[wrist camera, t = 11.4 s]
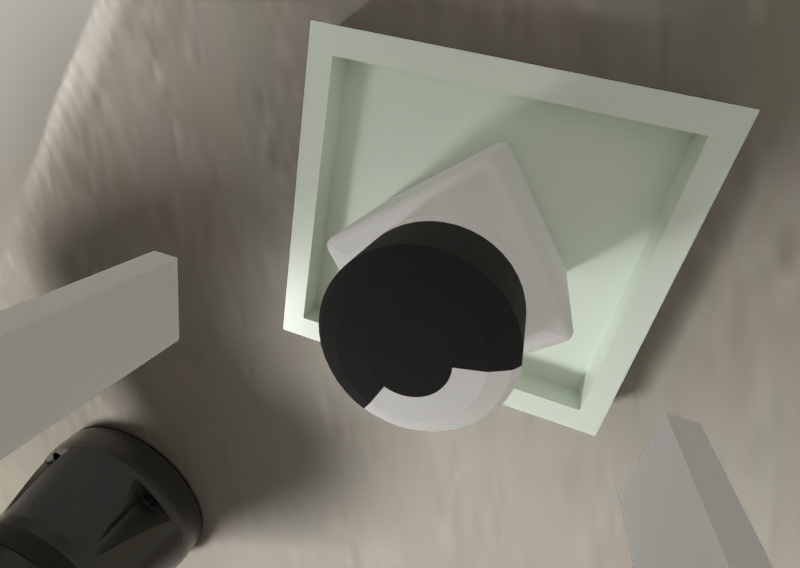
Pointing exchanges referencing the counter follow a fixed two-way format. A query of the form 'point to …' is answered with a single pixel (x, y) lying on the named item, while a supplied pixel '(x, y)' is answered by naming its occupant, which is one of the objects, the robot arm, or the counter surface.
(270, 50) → the counter surface
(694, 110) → the tray
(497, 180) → the medicine bottle
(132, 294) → the robot arm
